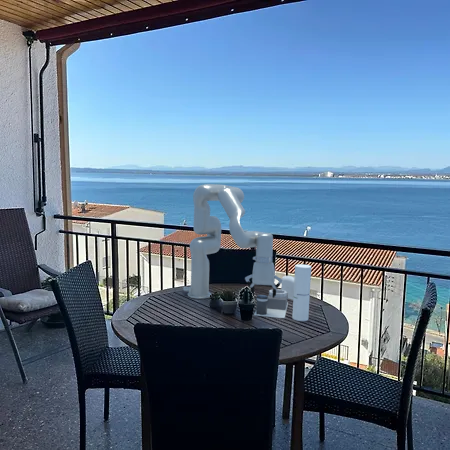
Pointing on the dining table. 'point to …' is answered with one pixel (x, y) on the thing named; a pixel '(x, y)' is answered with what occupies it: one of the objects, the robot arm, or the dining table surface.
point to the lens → (261, 304)
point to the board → (274, 313)
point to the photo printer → (288, 286)
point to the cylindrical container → (301, 292)
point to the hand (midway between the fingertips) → (263, 296)
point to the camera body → (277, 300)
